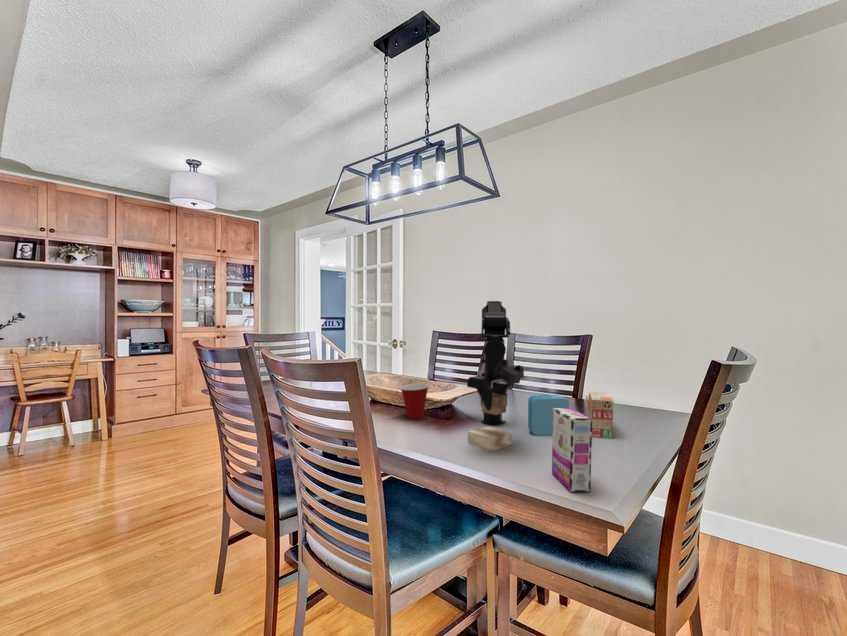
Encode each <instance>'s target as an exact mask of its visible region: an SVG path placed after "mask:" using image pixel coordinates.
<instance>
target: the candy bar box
mask: <svg viewBox="0 0 847 636" xmlns="http://www.w3.org/2000/svg"><path fill="white" fill-rule="evenodd" d="M551 439H552V447H551V475H553V476H554V478H556V479H557V480H558V481H559V482H560V483H561V484H562V486H564V487H565V488H566V489H567V490H568V491H569V492H570V493H590V492H591V491H592V490H591V489H592V487H591V482H592V476H591V475H592V442H593V440H592V439H593V437H592V419H591V418H589V417H587V415H585V414H583V413H582V412H580V411H577V410H575V409H573V408H571V407H569V408H553V435H552V438H551Z"/></svg>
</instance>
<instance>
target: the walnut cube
mask: <svg viewBox="0 0 847 636" xmlns="http://www.w3.org/2000/svg"><path fill="white" fill-rule="evenodd" d="M481 408H482V409H481V412H482V413H483V414H484V413H489V414H493V415H498V414H502V415H503V414H505V413H506V412H507V406H506V395H501V394H496V393H492V401H491V409H490V410H487V409H486V407H485V405H484V403H483V400H482V406H481Z"/></svg>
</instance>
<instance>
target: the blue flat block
mask: <svg viewBox="0 0 847 636" xmlns="http://www.w3.org/2000/svg"><path fill="white" fill-rule="evenodd" d="M527 401H528V405H527V407H528V410H527V413H528V414H527V415H528V416H527V419H528V421H527V423H528V424H527V428H528V430H529V431H530V433H532V435H534V436H553V408H570V401H569V399H567V398H566V397H564V396H562V395H559V394H557V395H553V394H552V395H539V394H538V395H530V396H529V397H528V400H527Z"/></svg>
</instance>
